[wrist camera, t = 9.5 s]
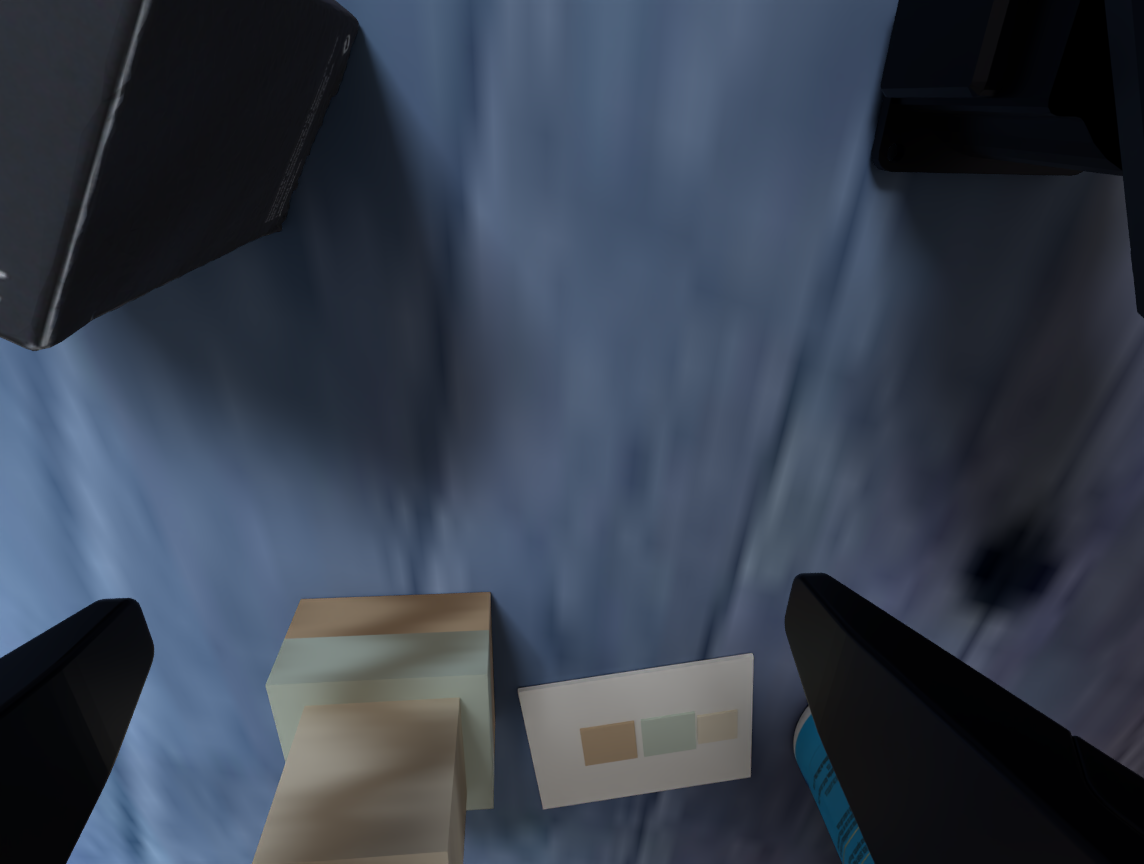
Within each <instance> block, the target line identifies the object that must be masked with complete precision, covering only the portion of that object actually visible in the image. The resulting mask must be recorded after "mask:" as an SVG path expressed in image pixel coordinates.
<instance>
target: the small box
mask: <svg viewBox="0 0 1144 864" xmlns="http://www.w3.org/2000/svg"><path fill="white" fill-rule="evenodd" d="M358 25H359V23H358V21H357V19H356V18H355V17H354V16H353V15H352V14H351V13H350V12H349V11H347V10H346V9H345V8H344V7H343V6H341V5H340V4H339V3H338V2H336V1H335V0H0V337H1V338H3V339H6V340H8V341H10V342H12V343H15V344H17V345H19V346H21V347H23V348H26V349H29V350H32V351H38V350H41V349H45V348H50V347H52V346H54V345H56V344H58V343H60V342H62V341H63V340H65V339H66V338H68V337H69V336H70V335H72V334H73V333H75V332H76V331H77V330H79V329H80V328H82V327H83V326H85V325H86V324H87V323H88V322H90V321H92V320H93V319H95V318H97V317H99V316H101V315H103V314H105V313H107V312H109V311H113V310H115V309H117V308H119V307H121V306H122V305H124V304H126V303H128V302H130V301H133V300H135V299H137V298H139V297H140V296H143V295H145V294H146V293H148V292H150V291H151V290H153V289H155V288H158V287H160V286H163V285H165V284H167V283H168V282H170V281H172V280H174V279H177V278H179V277H181V276H183V275H184V274H186V273H188V272H190V271H192V270H194V269H196V268H198V267H201V266H203V265H205V264H207V263H208V262H210V261H213V260H215V259H217V258H220V257H221V256H223V255H225V254H227V253H229V252H231V251H233V250H235V249H236V248H238V247H240V246H243V245H245V244H246V243H248V242H251V241H253V240H255V239H258V238H260V237H262V236H266V235H270V234H272V233H275V232H280V231H282V223H283V222H284V221H285V220H286V217H287V214H288V210H289V207H290V205H289V201H290V198H291V195H292V193H293V191H294V190H296V189H297V187H298V179H299V177H300V175H301V172H302V169H303V166H304V164H305V161H306V158H307V156H308V155H310V149H311V146H312V143H313V142H314V140H315V136H316V134H317V132H318V130H319V128H320V127H321V126H322V124H323V118H324V115H325V113H326V110H327V108H328V107H329V103H330V100H331V98H332V97H334V96H335V95H336V94H337V92H338V90H339V85H340V83H341V81H342V78H343V73H344V71H345V69H346V66H347V61H348V58H349V55H350V50H351V47H352V44H353V42H354V40H355V37H356V35H357V32H358Z"/></svg>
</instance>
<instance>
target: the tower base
mask: <svg viewBox="0 0 1144 864" xmlns="http://www.w3.org/2000/svg"><path fill="white" fill-rule="evenodd" d="M266 689H267V693H268V697H269V701H270V705H271V708H272V712H273V716H274V720H275V724H276V728H277V731H278V735H279V739H280V743H281V747H282V751H283V754H284V758H285V762H286V760H287V757H288V754H289V751H290V748H291V745H292V742H293V739H294V736H295V733H296V730H297V727H298V724H299V721H300V718H301V715H302V712H303V709H304V706H311V705H330V704H348V703H367V702H385V701H403V700H422V699H440V698H459V697H460V708H461V721H462V734H463V747H464V760H465V773H466V786H467V803H466V810H479V809H493V803H494V753H495V701H494V675H493V648H492V622H491V596H490V592H479V593H453V594H426V595H399V596H373V597H346V598H320V599H301V600H300V602H299V605H298V607H297V610H296V612H295V615H294V617H293V619H292V622H291V624H290V627H289V629H288V632H287V634H286V636H285V639H284V641H283V644H282V646H281V649H280V651H279V653H278V656H277V658H276V661H275V663H274V666H273V668H272V670H271V673H270V675H269V678H268V680H267V683H266Z"/></svg>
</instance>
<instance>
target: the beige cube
mask: <svg viewBox="0 0 1144 864" xmlns="http://www.w3.org/2000/svg"><path fill="white" fill-rule="evenodd" d="M466 803H467V786H466V773H465V760H464V747H463V734H462V721H461V708H460V697H459V698H440V699H422V700H403V701H385V702H367V703H348V704H330V705H311V706H304V709H303V712H302V715H301V718H300V721H299V724H298V727H297V730H296V733H295V736H294V739H293V742H292V745H291V748H290V751H289V754H288V757H287V760H286V763H285V766H284V769H283V772H282V775H281V778H280V781H279V784H278V787H277V790H276V793H275V796H274V799H273V802H272V805H271V808H270V811H269V814H268V817H267V820H266V823H265V826H264V829H263V832H262V835H261V838H260V841H259V844H258V847H257V850H256V853H255V856H254V859H253V862H252V864H463V854H464V837H465V820H466Z"/></svg>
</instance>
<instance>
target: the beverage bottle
mask: <svg viewBox="0 0 1144 864" xmlns="http://www.w3.org/2000/svg"><path fill="white" fill-rule="evenodd" d="M793 746H794V754H795V758H796V761H797V764H798V766H799V768H800V770H801V773H802V775H803V777H804V779H805V781H806V783H807V785H808V787H809V788H810V791H811V793H812V795H813V797H814V800H815V802H816V804H817V806H818V809H819V811H820V813H821V815H822V818H823V820H824V822H825V825H826V827H827V829H828V831H829V834H830V836H831V838H832V841H833V843H834V845H835V848H836V850H837V852H838V855H839V857H840V859H841V862H842V864H874V861H873V859H872V857H871V854H870V852H869V850H868V848H867V845H866V843H865V841H864V838H863V836H862V834H861V831H860V829H859V827H858V825H857V822H856V820H855V818H854V815H853V813H852V811H851V809H850V806H849V804H848V802H847V799H846V797H845V795H844V793H843V790H842V788H841V786H840V783H839V781H838V779H837V777H836V774H835V772H834V770H833V767H832V765H831V763H830V760H829V758H828V756H827V754H826V751H825V749H824V747H823V744H822V742H821V739H820V737H819V734H818V732H817V729H816V726H815V723H814V720H813V717H812V714H811V711H810V708H809V706H808V707H807V708H806V709H805V711H804V712H803V714H802V716H801V717H800V719H799V721H798V724H797V726H796V730H795V734H794V742H793Z"/></svg>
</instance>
